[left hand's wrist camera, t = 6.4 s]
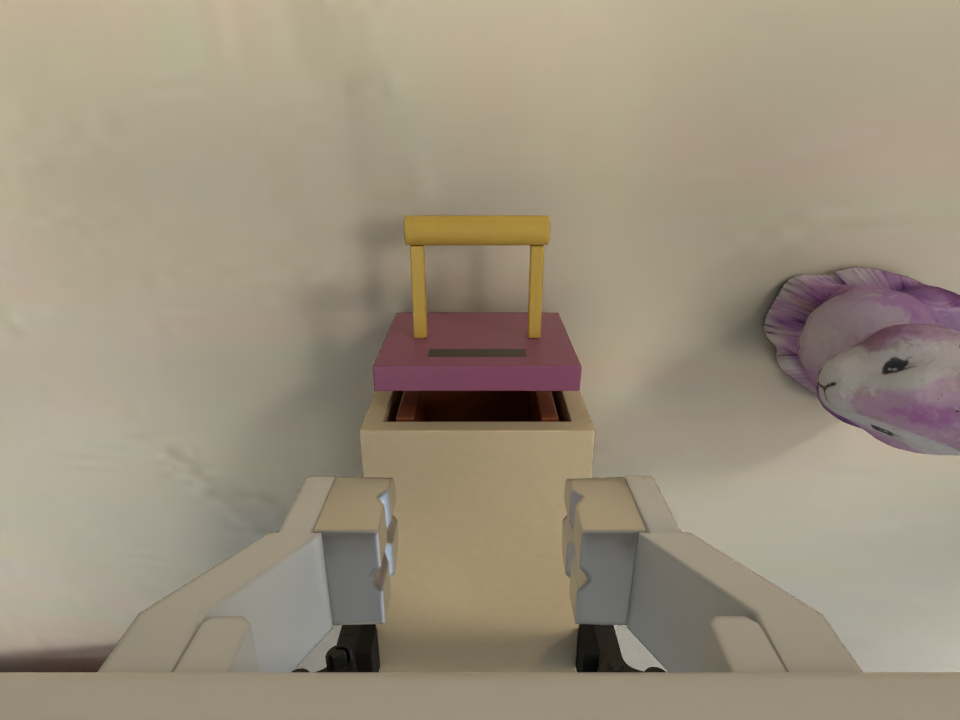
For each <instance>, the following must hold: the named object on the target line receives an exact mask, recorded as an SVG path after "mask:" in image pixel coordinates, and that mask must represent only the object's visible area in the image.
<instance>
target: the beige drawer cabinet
mask: <svg viewBox="0 0 960 720" xmlns="http://www.w3.org/2000/svg"><path fill="white" fill-rule="evenodd" d="M403 392H404V391H375V393H374V395H373V398H372V401H371V403H370V406H369V408H368V411H367V413H366V416H365V418H364V421H363V424H362V426H361V429H360V431H359V434H360V446H361V458H362V469H363V477H382V478H393V479H394V482H395V491H396V502H395V507H394V511H393V515H394V517H395V518H396V519H397V520H398V552H397V563H396V568H395V574H394V575H393V576H392V577H390V588H391V595H390V600H389V605H388V610H387V615H386V620H385V624H376V632H377V643H378V655H379V668H380V672H576V658H577V646H578V633H579V624H575V619H574V614H573V609H572V605H571V600H570V595H569V589H570V577H568V576H567V575H566V574H565V568H564V562H563V554H562V521H563V519H564V518H565V517H566V516H567V511H566V506H565V502H564V490H565V483H566V479H573V478H591V475H592V463H593V450H594V438H595V430H594V428H593V425H592V422H591V419H590V416H589V414H588V411H587V409H586V406H585V403H584V401H583V398H582V395H581V393H580V390H579V391H551V393H552V396H553V400H554V404H555V407H556V411H557V415H558V418H559V421H558V422H396V416H397V413H398V409H399V406H400V402H401V399H402V395H403Z"/></svg>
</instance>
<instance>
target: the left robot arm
mask: <svg viewBox="0 0 960 720" xmlns="http://www.w3.org/2000/svg"><path fill="white" fill-rule="evenodd" d="M395 502H396V491H395V482H394V479H393V478H382V477H335V476H319V477H308V478H306V479H305V481H304V483H303V485H302V487H301V489H300V491H299V493H298V495H297V497H296V498H295V500H294V502H293V504H292V506H291V508H290V510H289V512H288V514H287V516H286V518H285V520H284V522H283V524H282V526H281V528H280V530H279V532H278V533H269V534H267V535H265V536H264V537H262V538H260V539H259V540H257V541H256V542H254V543H252V544H251V545H249V546H248V547H246V548H244V549H243V550H241V551H239V552H238V553H236V554H235V555H233V556H231V557H230V558H228V559H226V560H225V561H223V562H222V563H220V564H218V565H217V566H215V567H213V568H212V569H210V570H209V571H207V572H205V573H204V574H202V575H201V576H199V577H197V578H196V579H194V580H192V581H191V582H189V583H188V584H186V585H184V586H183V587H181V588H179V589H178V590H176V591H175V592H173V593H171V594H170V595H168V596H166V597H165V598H163V599H162V600H160V601H158V602H157V603H155V604H154V605H152V606H150V607H149V608H147V609H145V610H144V611H142V612H141V613H139V614H138V615H137V617H136V618H135V619H134V621H133V622H132V624H131V625H130V626H129V628H128V629H127V631H126V632H125V633H124V635H123V636H122V638H121V639H120V641H119V642H118V643H117V645H116V646H115V648H114V649H113V650H112V652H111V653H110V655H109V656H108V657H107V659H106V660H105V662H104V663H103V665H102V666H101V667H100V669H99V670H98V672H0V720H960V672H863V671H862V670H861V669H860V667H859V666H858V664H857V663H856V661H855V660H854V659H853V657H852V656H851V654H850V653H849V652H848V650H847V649H846V647H845V646H844V644H843V643H842V642H841V640H840V639H839V637H838V636H837V634H836V633H835V632H834V630H833V629H832V627H831V626H830V624H829V623H828V622H827V620H826V619H825V617H824V616H823V615H822V614H821V613H819V612H817V611H816V610H814V609H813V608H811V607H809V606H808V605H806V604H805V603H803V602H801V601H800V600H798V599H796V598H795V597H793V596H792V595H790V594H788V593H787V592H785V591H784V590H782V589H780V588H779V587H777V586H775V585H774V584H772V583H771V582H769V581H767V580H766V579H764V578H763V577H761V576H759V575H758V574H756V573H754V572H753V571H751V570H750V569H748V568H746V567H745V566H743V565H742V564H740V563H738V562H737V561H735V560H733V559H732V558H730V557H729V556H727V555H725V554H724V553H722V552H721V551H719V550H717V549H716V548H714V547H713V546H711V545H709V544H708V543H706V542H704V541H703V540H701V539H700V538H698V537H696V536H695V535H693V534H692V533H682V532H681V530H680V528H679V526H678V524H677V522H676V520H675V518H674V516H673V515H672V513H671V511H670V509H669V507H668V505H667V503H666V501H665V499H664V497H663V495H662V493H661V491H660V489H659V487H658V485H657V483H656V481H655V479H654V478H652V477H651V476H638V477H614V478H573V479H566V483H565V490H564V502H565V506H566V511H567V516H566V517H565V518H564V519H563V521H562V554H563V562H564V568H565V574H566V575H567V576H568V577H570V589H569V595H570V600H571V605H572V609H573V614H574V619H575V624H599V625H627V628H628V629H629V630H630V631H631V632H632V633H633V634H634V635H635V636H636V638H637V639H638V640H639V641H640V642H641V643H642V644H643V645H644V646H645V647H646V648H647V649H648V650H649V651H650V653H651V654H652V655H653V656H654V657H655V658H656V659H657V660H658V661H659V662H660V663H661V664H662V665H663V666H664V667H665V669H666V670H667V671H668V672H292V671H293V670H294V669H295V668H296V667H297V666H298V665H299V664H300V662H301V661H302V660H303V659H304V658H305V657H306V656H307V655H308V654H309V653H310V652H311V651H312V650H313V649H314V648H315V647H316V645H317V644H318V643H319V642H320V641H321V640H322V639H323V638H324V637H325V636H326V635H327V634H328V633H329V632H330V631H331V630H332V628H333V626H332V625H360V624H385V620H386V615H387V610H388V605H389V600H390V595H391V588H390V577H392V576H393V575H394V574H395V568H396V563H397V552H398V520H397V519H396V518H395V517H394V515H393V511H394V507H395Z"/></svg>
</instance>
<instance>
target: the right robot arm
mask: <svg viewBox="0 0 960 720" xmlns="http://www.w3.org/2000/svg"><path fill="white" fill-rule="evenodd" d="M326 664H327V667H326V668H324V669H323V670H320V671H317V672H379V655H378V643H377V632H376V624H360V625H342V628H341V631H340V636H339V639H338V642H337V645H336V646H334V647H332V648H331V649H330V650H329V651H328V652H327V654H326ZM576 670H577V672H643V671H640V670H636V669H634V668H632V667H630V666H628V665H627V664H626V663H625V661H624V660H623V658H622V655H621V652H620V648H619V644H618V640H617V637H616V633H615V629H614V626H613V625H599V624H579V633H578V646H577V658H576ZM292 672H309V671H308V670H306V669H296V670H294V671H292ZM645 672H665V671H664V670H663V669H660V668H658V667H650V668H647V669H646V670H645Z"/></svg>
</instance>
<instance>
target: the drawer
mask: <svg viewBox="0 0 960 720" xmlns="http://www.w3.org/2000/svg"><path fill="white" fill-rule="evenodd" d="M404 237H405V243H406V245H411V246H410V255H411V277H412V300H413V313H397V314H396V316H395V318H394V320H393V323H392V325H391V327H390V329H389V332H388V334H387V336H386V338H385V341H384V343H383V345H382V347H381V350H380V352H379V354H378V356H377V359H376V361H375V363H374V365H373V376H374V389H375V391H404V392H403V395H402V399H401V402H400V406H399V409H398V413H397V416H396V422H558V421H559V418H558V415H557V411H556V407H555V404H554V400H553V396H552V393H551V391H579V390H580V380H581V365H580V362H579V360H578V358H577V355H576V353H575V351H574V348H573V346H572V344H571V341H570V339H569V337H568V334H567V332H566V330H565V327H564V325H563V323H562V320H561V318H560V316H559V314H558V313H541V312H542V288H543V263H544V246H543V245H548V244H549V240H550V218H549V216H547V215H483V216H405V219H404ZM424 245H530V266H529V298H528V313H427V309H426V280H425V251H424Z"/></svg>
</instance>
